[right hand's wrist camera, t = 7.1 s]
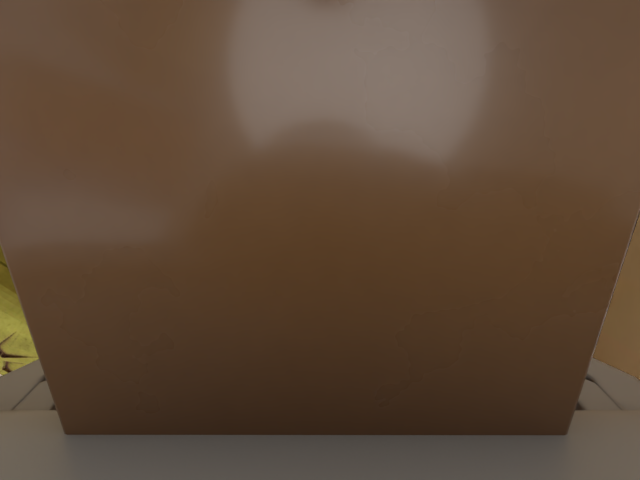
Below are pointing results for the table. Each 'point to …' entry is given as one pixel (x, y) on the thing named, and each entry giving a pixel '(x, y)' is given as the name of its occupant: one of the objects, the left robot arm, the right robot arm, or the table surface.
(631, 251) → the table surface
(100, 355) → the box
